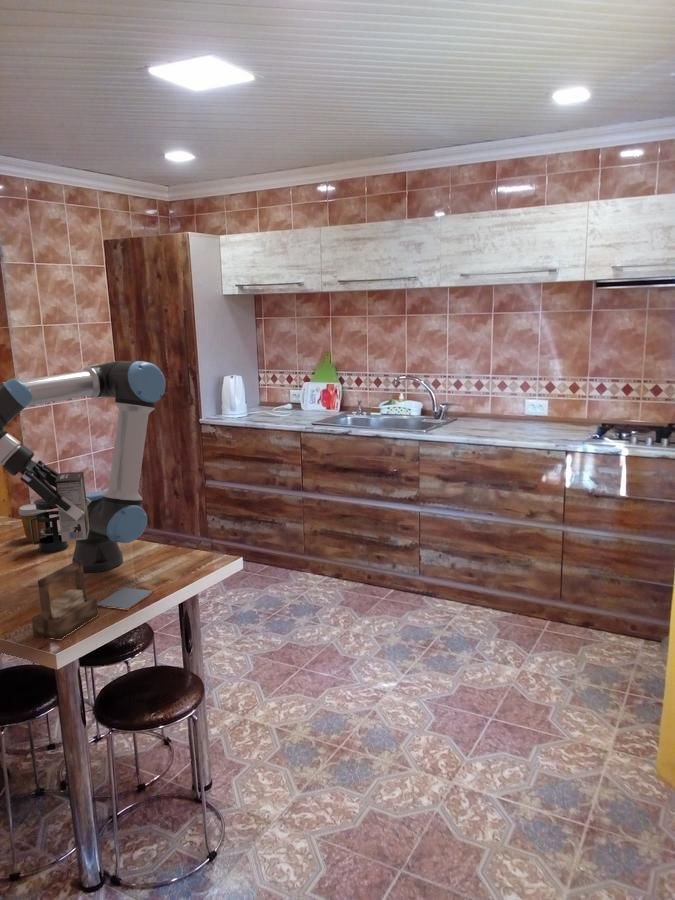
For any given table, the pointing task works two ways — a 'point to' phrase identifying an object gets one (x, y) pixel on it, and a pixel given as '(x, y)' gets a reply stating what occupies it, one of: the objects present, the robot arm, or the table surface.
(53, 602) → the offcut rack
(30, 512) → the disposable coffee cup
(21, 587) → the table surface
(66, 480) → the coffee box
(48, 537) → the french press
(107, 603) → the slate mat
